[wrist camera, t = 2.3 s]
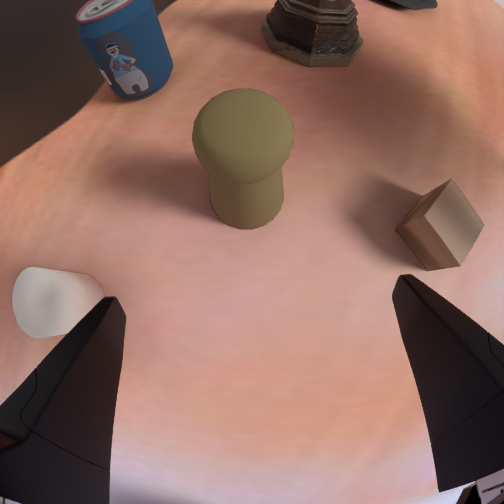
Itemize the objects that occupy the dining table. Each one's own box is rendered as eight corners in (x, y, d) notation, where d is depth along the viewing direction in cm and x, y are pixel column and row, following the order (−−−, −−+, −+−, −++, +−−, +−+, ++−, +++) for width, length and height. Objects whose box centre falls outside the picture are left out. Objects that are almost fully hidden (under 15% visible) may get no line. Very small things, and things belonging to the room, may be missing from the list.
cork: (214, 234, 22) (180, 184, 12) (206, 165, 23) (176, 81, 12) (289, 224, 22) (321, 166, 12) (277, 156, 23) (292, 67, 12)
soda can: (156, 52, 25) (128, -24, 14) (187, 77, 25) (162, -13, 13) (107, 86, 25) (62, 16, 13) (132, 115, 24) (80, 34, 12)
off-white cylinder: (72, 335, 21) (23, 345, 14) (57, 284, 22) (7, 280, 15) (113, 320, 21) (65, 328, 15) (95, 265, 22) (46, 255, 15)
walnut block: (427, 271, 22) (460, 266, 17) (394, 229, 23) (424, 216, 18) (452, 235, 22) (484, 224, 18) (422, 196, 23) (451, 178, 18)
